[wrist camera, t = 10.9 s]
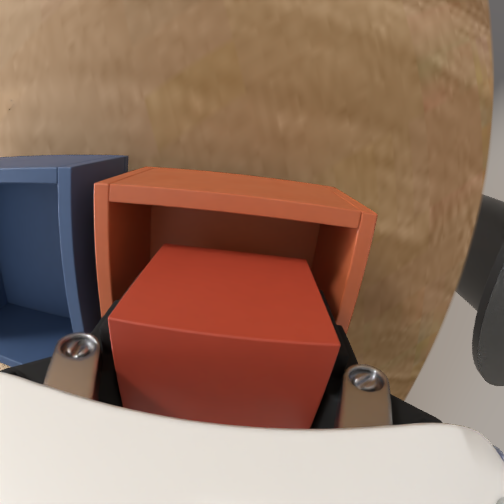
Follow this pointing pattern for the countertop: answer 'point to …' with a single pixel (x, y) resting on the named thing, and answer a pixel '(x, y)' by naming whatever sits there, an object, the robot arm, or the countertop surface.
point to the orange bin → (230, 226)
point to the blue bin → (48, 250)
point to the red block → (224, 339)
